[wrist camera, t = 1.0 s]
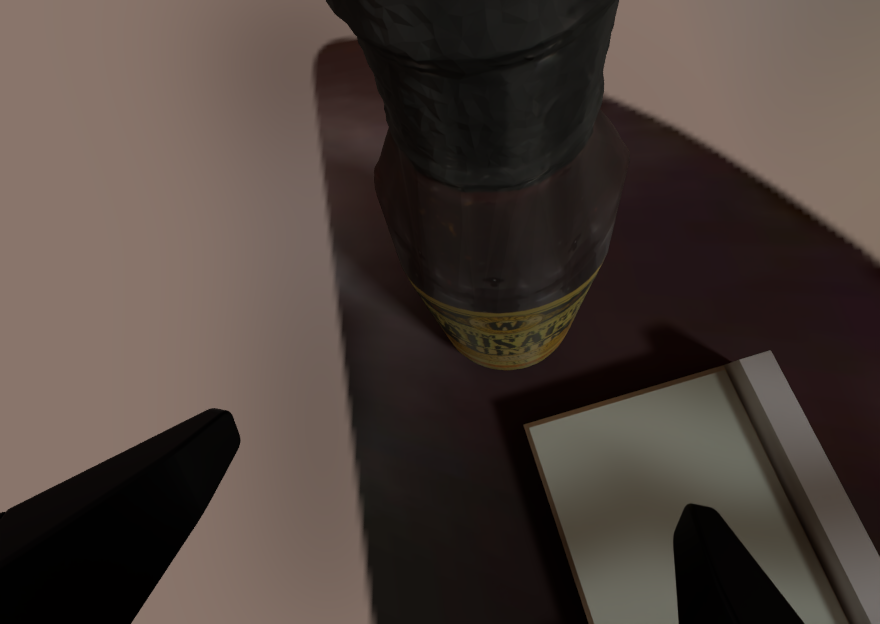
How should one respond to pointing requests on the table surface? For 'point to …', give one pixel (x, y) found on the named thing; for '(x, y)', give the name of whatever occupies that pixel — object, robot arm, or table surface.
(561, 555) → the table surface
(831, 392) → the table surface
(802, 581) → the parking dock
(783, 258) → the table surface
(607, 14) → the sauce bottle
